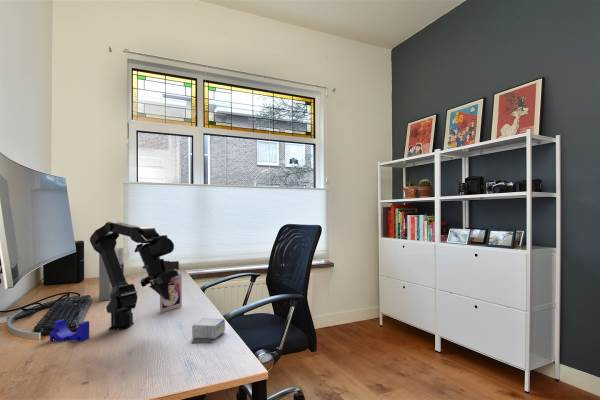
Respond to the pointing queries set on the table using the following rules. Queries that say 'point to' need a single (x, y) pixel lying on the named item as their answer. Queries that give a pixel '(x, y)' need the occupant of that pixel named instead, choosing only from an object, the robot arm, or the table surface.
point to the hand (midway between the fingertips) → (167, 299)
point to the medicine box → (208, 328)
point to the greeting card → (173, 294)
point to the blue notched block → (65, 334)
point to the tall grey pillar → (104, 280)
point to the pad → (201, 340)
